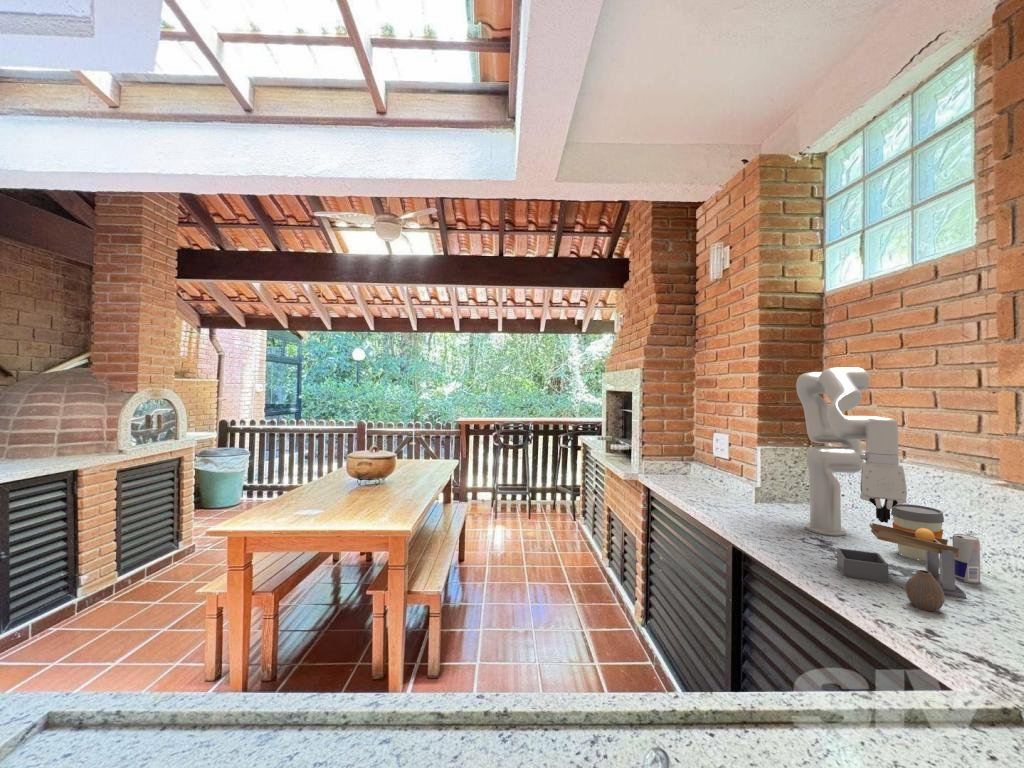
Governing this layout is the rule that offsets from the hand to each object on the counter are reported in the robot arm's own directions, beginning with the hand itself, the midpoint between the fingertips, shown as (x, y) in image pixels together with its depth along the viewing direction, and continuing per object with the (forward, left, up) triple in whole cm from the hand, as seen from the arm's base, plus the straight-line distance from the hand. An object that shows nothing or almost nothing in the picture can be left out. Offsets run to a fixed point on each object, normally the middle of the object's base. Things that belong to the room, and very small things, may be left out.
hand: (883, 521), depth 133 cm
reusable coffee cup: (-18, +12, -14) cm, 26 cm away
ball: (+7, +7, -1) cm, 10 cm away
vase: (+25, +2, -14) cm, 29 cm away
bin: (+7, -7, -14) cm, 17 cm away
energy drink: (-1, +18, -14) cm, 23 cm away
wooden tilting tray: (+4, +5, -4) cm, 7 cm away
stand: (+7, +10, -14) cm, 19 cm away
